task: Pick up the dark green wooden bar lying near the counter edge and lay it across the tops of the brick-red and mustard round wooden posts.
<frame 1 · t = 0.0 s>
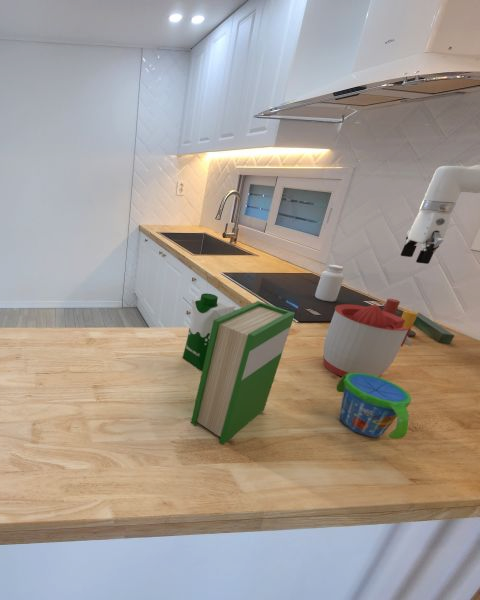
hand: (413, 259, 113), 25 cm above the counter, tool pointing down, fingers open, 9 cm apart
hardback book: (228, 416, 73), on the counter
milk carton: (200, 362, 94), on the counter
citrus juicer: (351, 372, 93), on the counter
bar: (426, 330, 122), on the counter
pill bottle: (324, 299, 149), on the counter
snack cup: (359, 426, 73), on the counter
mustard post: (401, 332, 119), on the counter
red post: (385, 319, 130), on the counter
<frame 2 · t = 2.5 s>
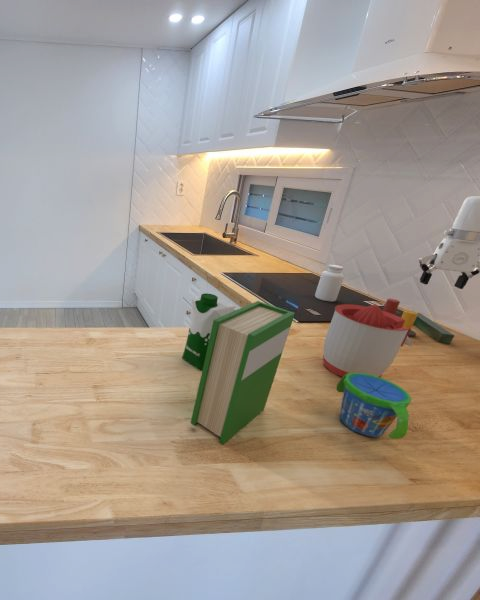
hand: (440, 285, 115), 17 cm above the counter, tool pointing down, fingers open, 9 cm apart
nothing on the counter moved.
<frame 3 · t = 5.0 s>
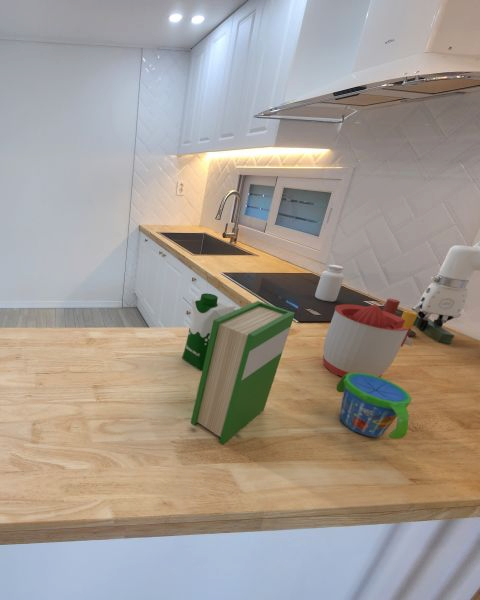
hand: (427, 329, 121), 1 cm above the counter, tool pointing down, fingers closed on bar, 3 cm apart
bar: (426, 330, 122), on the counter, touching gripper
everything else where it was.
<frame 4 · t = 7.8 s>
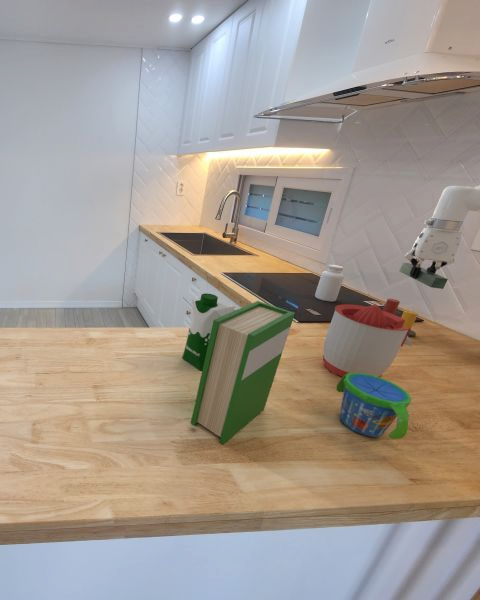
hand: (420, 278, 117), 19 cm above the counter, tool pointing down, fingers closed on bar, 3 cm apart
bar: (419, 279, 117), point 18 cm above the counter, touching gripper
everything else where it was.
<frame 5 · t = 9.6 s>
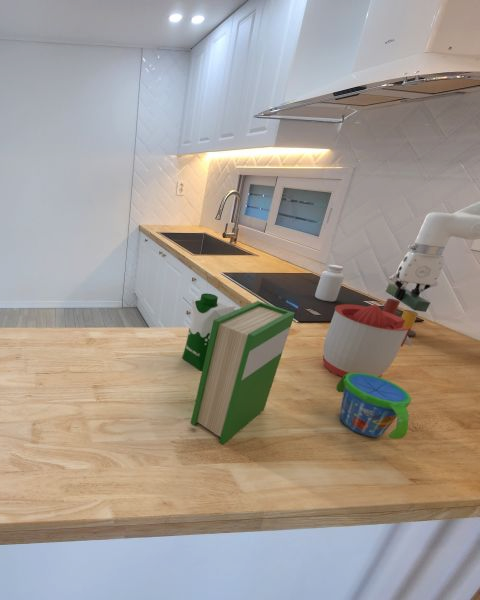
hand: (404, 299, 121), 10 cm above the counter, tool pointing down, fingers closed on bar, 3 cm apart
bar: (404, 300, 121), point 10 cm above the counter, touching gripper
everything else where it was.
when the fingers open (9 cm above the counter, at t = 10.5 s): bar stays where it is, resting on mustard post, red post.
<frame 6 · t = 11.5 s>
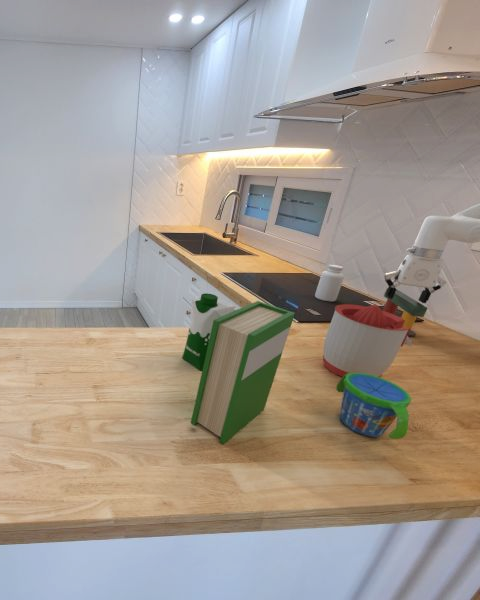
hand: (405, 299, 121), 10 cm above the counter, tool pointing down, fingers open, 9 cm apart
bar: (401, 305, 122), point 8 cm above the counter, touching mustard post, red post
everything else where it was.
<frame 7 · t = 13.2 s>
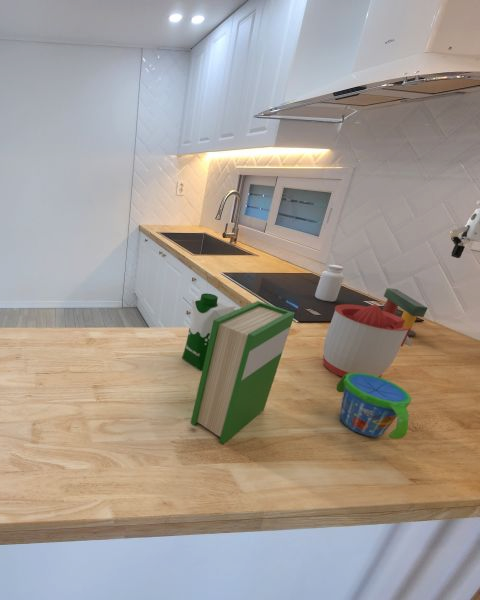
hand: (473, 258, 111), 27 cm above the counter, tool pointing down, fingers open, 9 cm apart
nothing on the counter moved.
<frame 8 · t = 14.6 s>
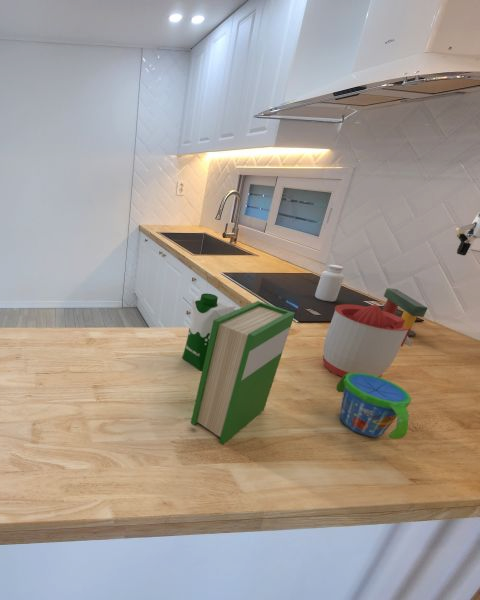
hand: (479, 256, 110), 28 cm above the counter, tool pointing down, fingers open, 9 cm apart
nothing on the counter moved.
at the end: bar 0.0 cm from the target spot, point 8.0 cm above the counter; bar tilted 0°; bar touching mustard post, red post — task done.
